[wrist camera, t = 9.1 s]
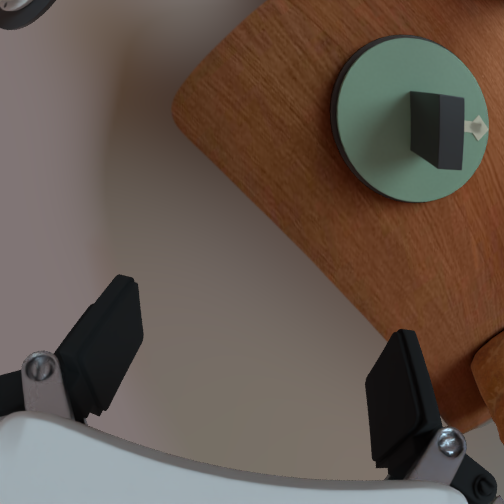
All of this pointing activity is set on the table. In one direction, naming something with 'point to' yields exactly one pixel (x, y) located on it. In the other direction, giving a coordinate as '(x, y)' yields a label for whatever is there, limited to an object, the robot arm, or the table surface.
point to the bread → (491, 378)
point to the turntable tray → (390, 117)
